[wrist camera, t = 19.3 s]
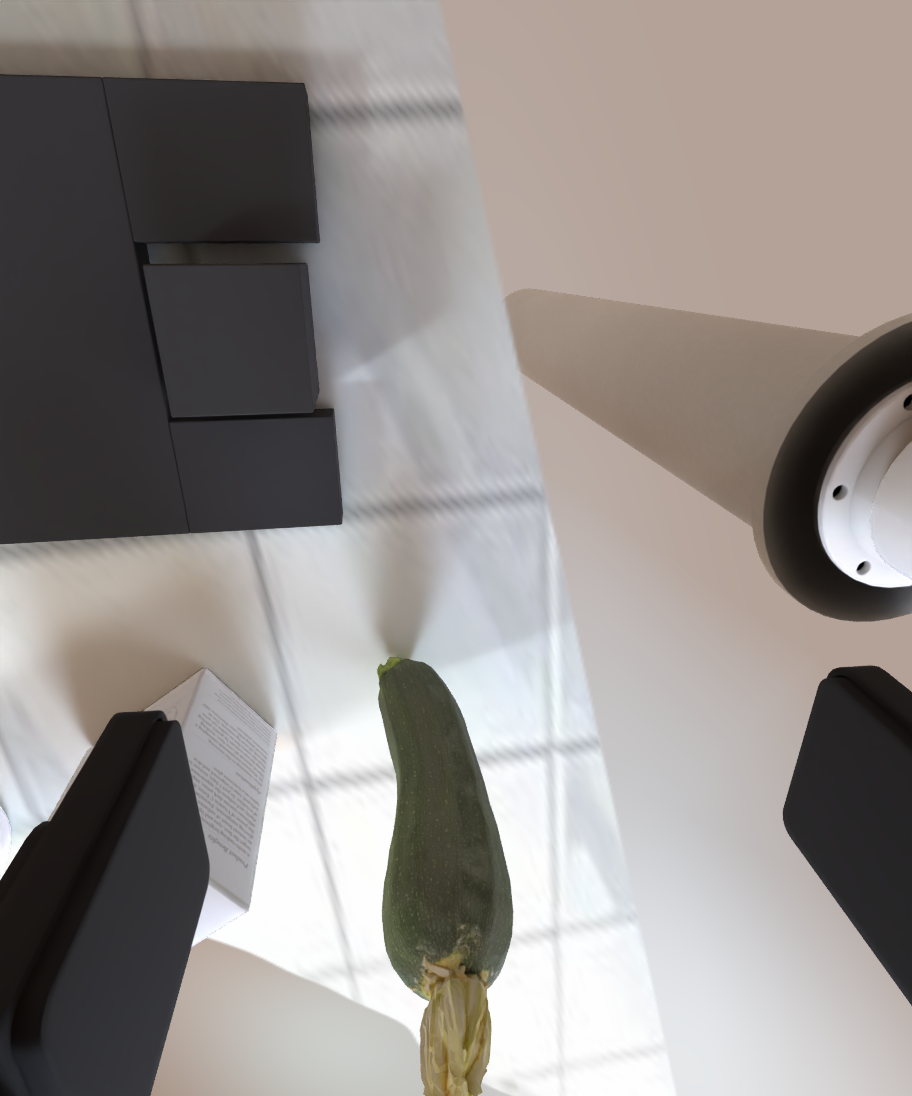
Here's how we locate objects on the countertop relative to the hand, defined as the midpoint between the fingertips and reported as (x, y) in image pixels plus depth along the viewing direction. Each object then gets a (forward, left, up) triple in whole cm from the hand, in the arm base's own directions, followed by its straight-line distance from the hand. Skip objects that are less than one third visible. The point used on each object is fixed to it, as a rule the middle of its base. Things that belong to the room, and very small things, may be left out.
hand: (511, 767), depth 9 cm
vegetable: (0, +13, -21) cm, 24 cm away
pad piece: (+6, -4, -21) cm, 22 cm away
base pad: (+12, -4, -21) cm, 24 cm away
